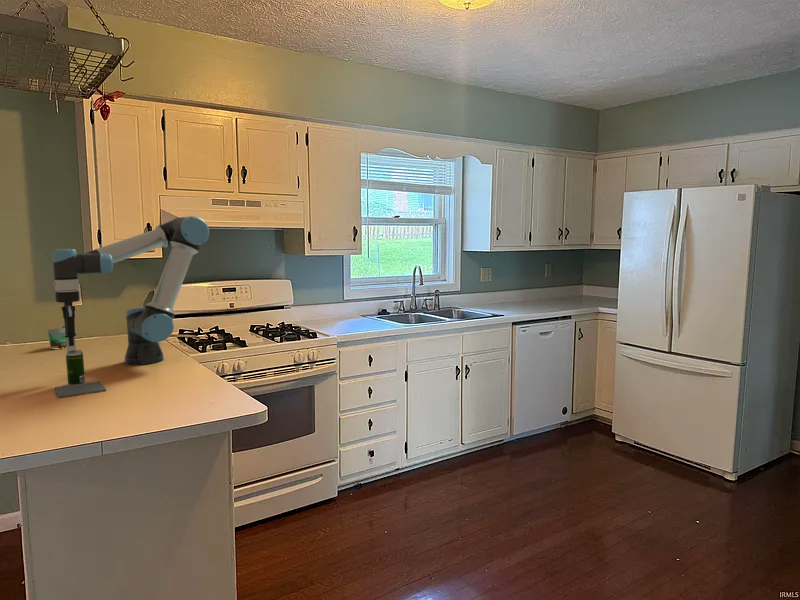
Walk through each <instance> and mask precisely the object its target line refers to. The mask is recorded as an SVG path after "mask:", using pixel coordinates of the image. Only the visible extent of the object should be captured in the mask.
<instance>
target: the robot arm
mask: <svg viewBox="0 0 800 600" xmlns="http://www.w3.org/2000/svg"><path fill="white" fill-rule="evenodd" d="M209 235H210V229H209V226H208V224H207V222H205V220H204V219H202V218H200V217H199V216H194V215H193V216H192V215H188V216H183V217H182V216H181V217H176V218H174V219H172V220H170V221H168V222H164V223H163V224H159V225H156V226H155V227H154V229H153V230H149V231H147V232H144V233H141V234H137V235H134V236H132V237H128V238H126V239H122V240H119V241H117V242H114V243H110V244H107V245H104V246H101V247H98V248H96V249H92V250H90V251H87V252H80V253H77V249H75V248H58V249H57V248H56V249H54V250H53V251H52V266H53V279H54V282H52V285H53V286H54V290H55V291H56V292H55V302H56V303H60V304H61V303H63V306H61V311H62V318H63V322H64V326H65V334H66V336H64V337H65V338H66V343H67V348H66V352H68V351H73V350H77V347H76V336H77V334H76V324H75V323H76V321H75V320H76V319H75V318H76V315H75V313H76V306H74V305H73V303H75V302H76V303H77V302H79V301H80V291H79V289H80V287H79V285H80V284H79V275H87V274H88V275H91V274H92V275H93V274H102V275H103V274H109V273H111V272H112V271H113V270H114V264H116V263H118V262H121V261H124V260H127V259H130V258H133V257H136V256H139V255H141V254H144V253H147V252H150V251H152V250H155V249H159V248H161V247H163V248H169V247H171V250H170V253H169V255H168V258H167V260H166V263H165V266H164V269H163V271H162V274H161V277H160V279H159V281H158V284H157V287H156V289H155V292H154V294H153V297H152V299H151V301H150V302H148V303H146V304H145V306H144V307H135V308H129V309H127V310H126V316H125V318H126V331H127V342H128V343H127V344H128V345H127V349H126V351H125V356H124V363H125V364H126V365H132V366H133V365H134V366H135V365H138V366H139V365H140V366H141V365H148V364H156V363H158V362H162V361H163V360H164V352H163V350H162V347H161V346H160V342H164V341H166V340H168V338H170V337H171V336H172V335H173V332H174V328H175V324H174V321H173V320H174V318H175V315H176V313H175V310H174V306H175V303H176V302H177V299H178V296H179V293H180V291H181V288H182V285H183V282H184V280H185V277H186V275H187V272H188V270H189V267H190V264H191V261H192V259H193V257H194V255H196V254H198V253H199V252H200V249H201V246H202V244H204V243H205V242H207V240H208V239H209V237H210V236H209Z"/></svg>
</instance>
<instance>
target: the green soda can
mask: <svg viewBox="0 0 800 600" xmlns="http://www.w3.org/2000/svg"><path fill="white" fill-rule="evenodd" d="M65 353H66V354H65V363H66V374H67V378H66V379H67V384H68V386H69V385H76V384H83V383H86V374H85V366H84V365H85V362H84V361H85V360H84V352H83V350H82V349H80V350H79V349H76V350H73V351H68V352H67V351H66V352H65Z"/></svg>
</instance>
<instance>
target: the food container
mask: <svg viewBox="0 0 800 600" xmlns="http://www.w3.org/2000/svg"><path fill="white" fill-rule="evenodd" d="M47 334H48V339H49V344H50V349H51V348H62V347H67V343H66V338H65V337H64V336H66V334H65V325H62V327H60V328H55V329H48V330H47Z"/></svg>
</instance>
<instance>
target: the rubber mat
mask: <svg viewBox="0 0 800 600" xmlns="http://www.w3.org/2000/svg"><path fill="white" fill-rule="evenodd" d="M54 390H56V391H55V394H56V395H58V396H57V398H58V397H63V398H66V397H65V396H70V397H73V396H72V395H76V396H80V395H79V394H83V395H87V394H86V393H90V394H94V393H93V392H96V393H101V392H100V391H103V392H106V391H107V388H106V387H105V386H104V385H103V383H102V382H101V381H100V380H98V381H91V382H85V383H83V384H76V385H69V384H68V385H64V386H63V385H62V386H56V387H54Z"/></svg>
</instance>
